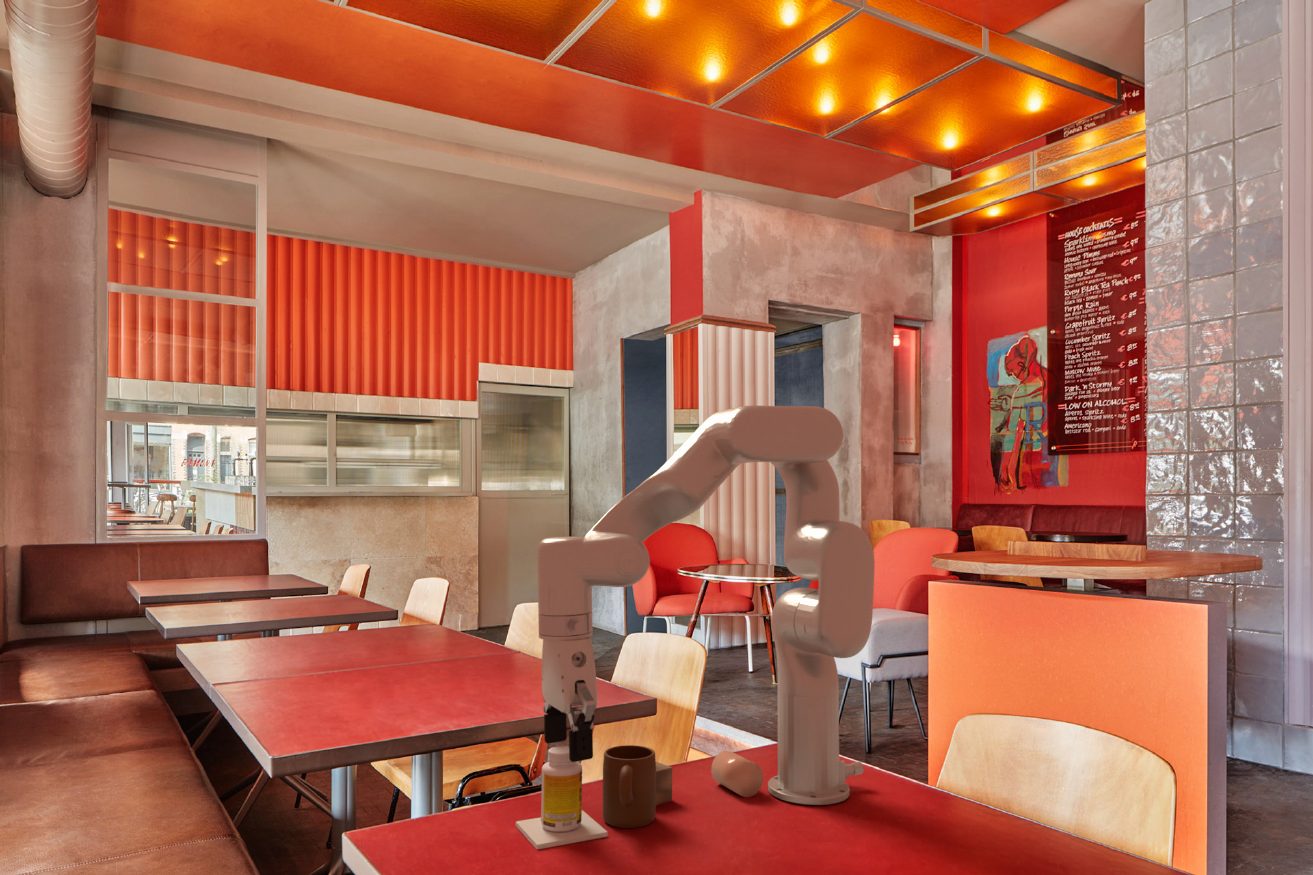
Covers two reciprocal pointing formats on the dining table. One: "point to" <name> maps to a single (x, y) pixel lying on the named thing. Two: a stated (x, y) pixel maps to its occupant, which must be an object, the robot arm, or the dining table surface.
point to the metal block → (663, 783)
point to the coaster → (549, 838)
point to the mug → (629, 786)
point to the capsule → (737, 773)
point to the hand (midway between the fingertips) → (568, 750)
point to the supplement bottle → (561, 791)
